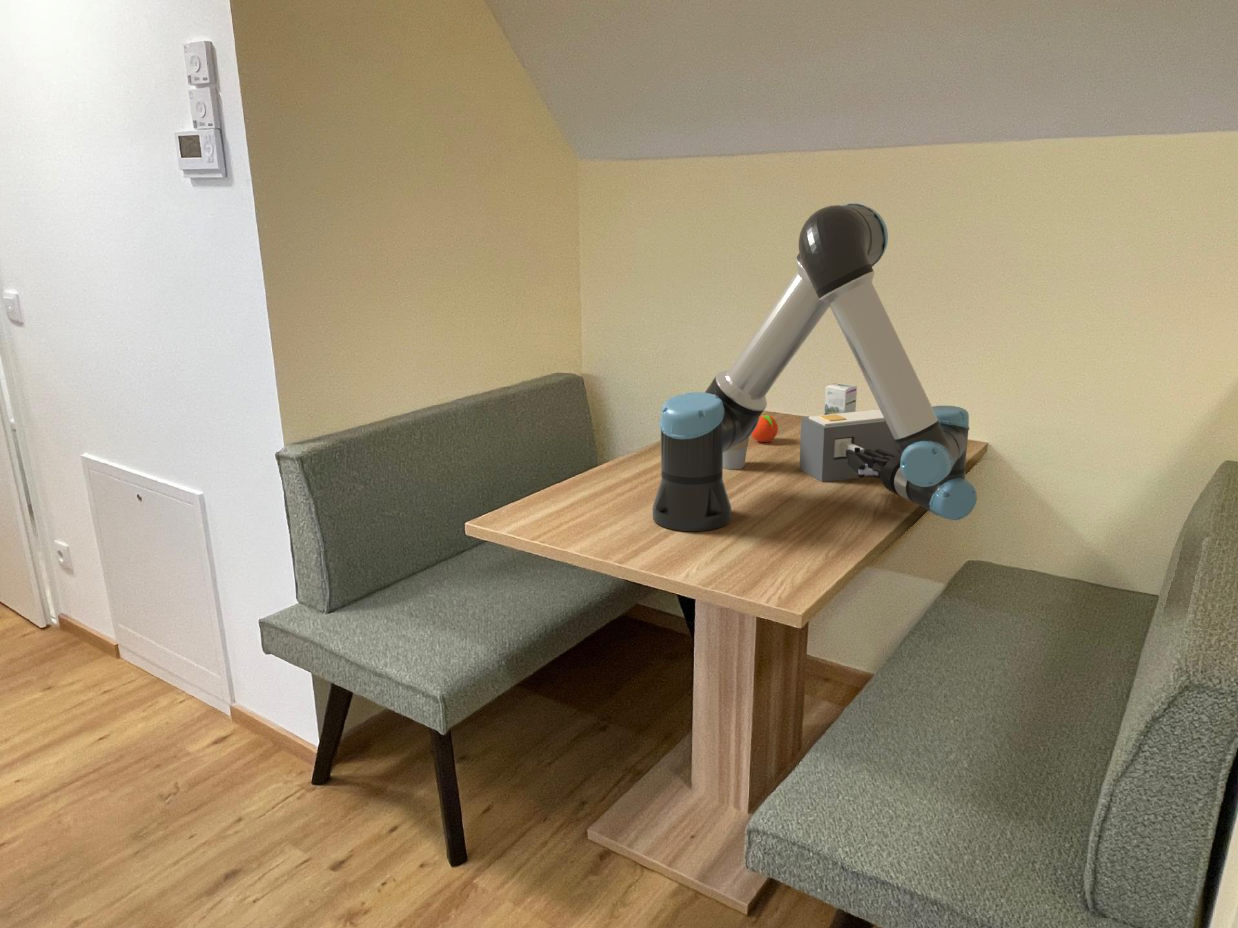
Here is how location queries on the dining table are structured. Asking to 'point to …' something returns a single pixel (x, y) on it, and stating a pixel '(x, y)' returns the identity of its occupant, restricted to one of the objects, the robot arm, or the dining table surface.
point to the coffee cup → (735, 456)
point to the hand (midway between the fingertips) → (844, 448)
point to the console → (823, 430)
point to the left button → (840, 445)
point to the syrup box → (840, 398)
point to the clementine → (765, 429)
